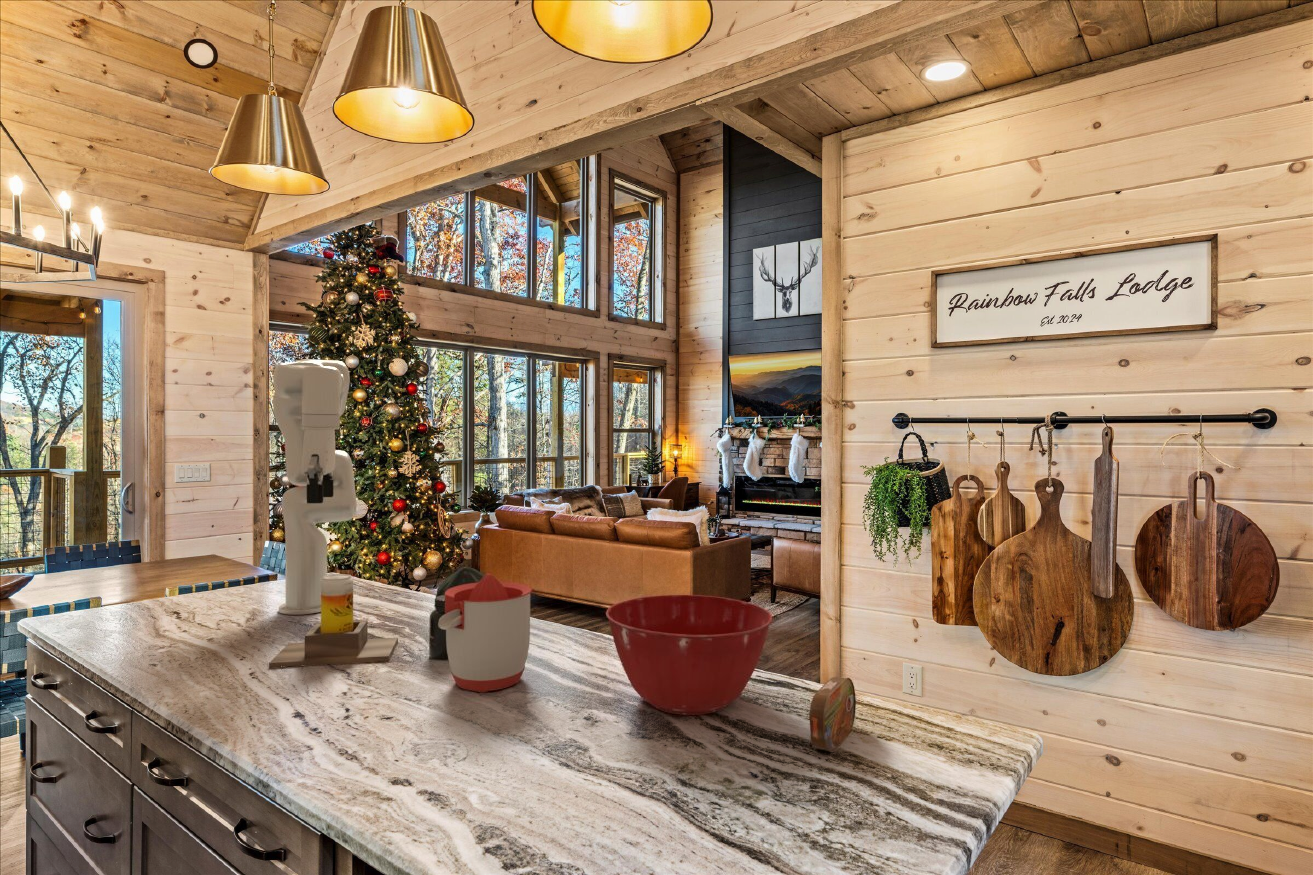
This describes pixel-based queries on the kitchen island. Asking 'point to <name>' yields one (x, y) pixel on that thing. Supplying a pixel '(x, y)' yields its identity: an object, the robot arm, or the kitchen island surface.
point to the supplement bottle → (437, 631)
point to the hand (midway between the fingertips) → (320, 500)
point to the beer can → (337, 603)
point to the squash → (460, 579)
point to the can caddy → (336, 648)
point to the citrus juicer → (487, 633)
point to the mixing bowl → (688, 649)
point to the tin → (832, 713)
